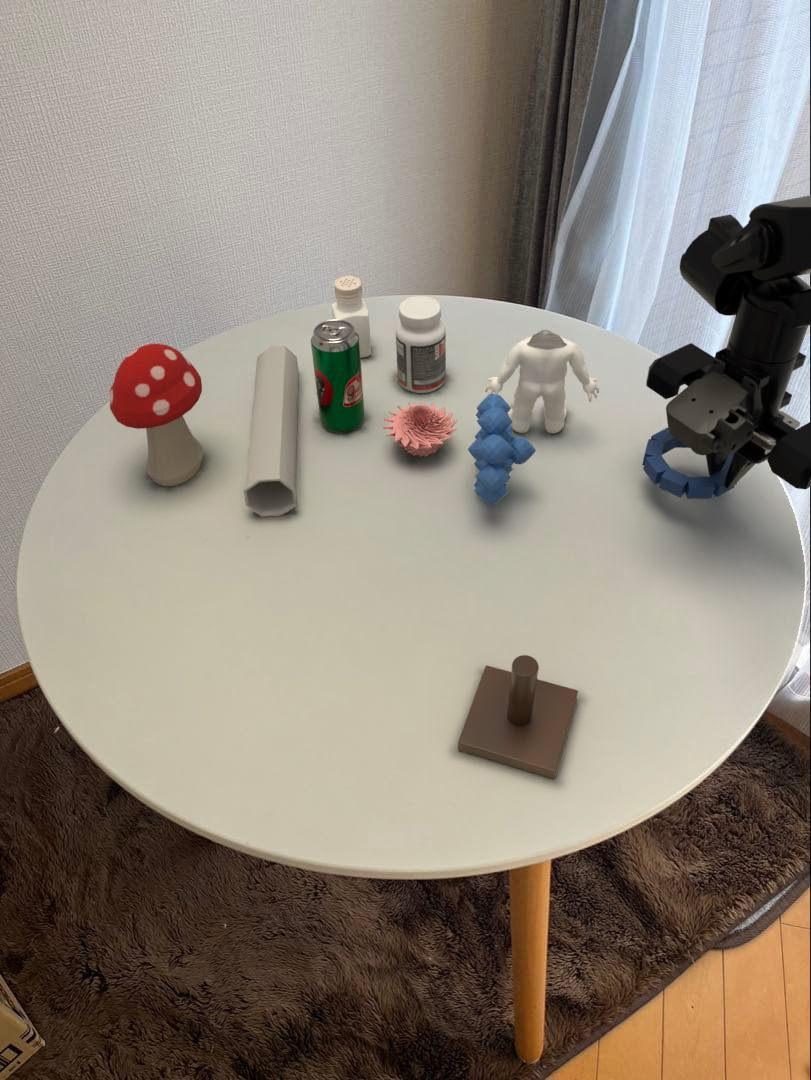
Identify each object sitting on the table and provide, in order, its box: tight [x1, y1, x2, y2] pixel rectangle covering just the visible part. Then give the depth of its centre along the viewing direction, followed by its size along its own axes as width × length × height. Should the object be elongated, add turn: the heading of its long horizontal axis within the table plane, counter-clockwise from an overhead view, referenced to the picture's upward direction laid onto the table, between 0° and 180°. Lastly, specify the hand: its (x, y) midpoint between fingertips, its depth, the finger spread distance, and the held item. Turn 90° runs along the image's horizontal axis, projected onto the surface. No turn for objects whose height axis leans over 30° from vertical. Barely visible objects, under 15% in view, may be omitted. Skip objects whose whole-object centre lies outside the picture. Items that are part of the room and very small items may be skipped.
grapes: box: [467, 393, 537, 506], centre depth 89 cm, size 12×7×12 cm, turn 177°
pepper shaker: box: [330, 275, 372, 359], centre depth 108 cm, size 4×4×10 cm
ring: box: [641, 427, 738, 500], centre depth 89 cm, size 9×10×2 cm
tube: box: [242, 344, 300, 518], centre depth 98 cm, size 5×5×25 cm
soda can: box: [310, 318, 366, 433], centre depth 98 cm, size 5×5×12 cm
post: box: [457, 654, 579, 780], centre depth 71 cm, size 8×8×8 cm
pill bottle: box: [395, 295, 447, 394], centre depth 103 cm, size 6×6×10 cm
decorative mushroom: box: [109, 343, 204, 487], centre depth 92 cm, size 10×9×15 cm
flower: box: [382, 401, 458, 458], centre depth 96 cm, size 8×8×6 cm
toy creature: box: [484, 329, 600, 434], centre depth 96 cm, size 12×6×12 cm, turn 87°
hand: (721, 480), depth 87 cm, fingers closed on ring, 1 cm apart
